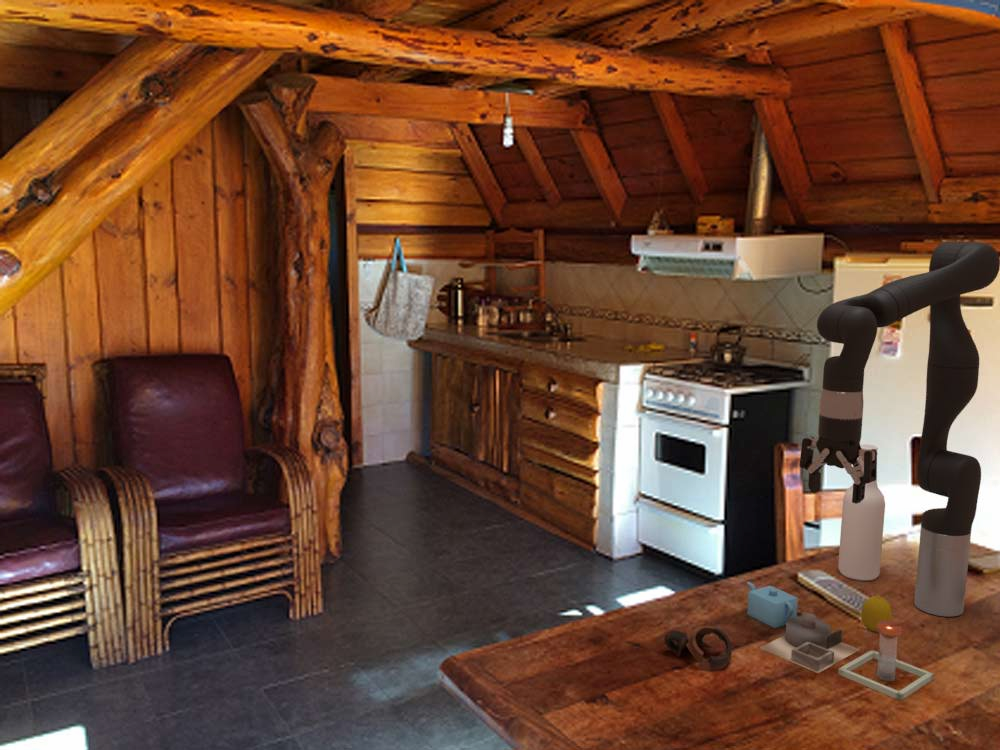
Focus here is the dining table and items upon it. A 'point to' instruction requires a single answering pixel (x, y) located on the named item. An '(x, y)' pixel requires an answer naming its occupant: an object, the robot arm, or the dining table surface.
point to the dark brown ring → (695, 640)
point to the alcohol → (862, 531)
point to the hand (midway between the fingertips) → (835, 497)
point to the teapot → (771, 605)
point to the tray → (898, 695)
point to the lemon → (875, 612)
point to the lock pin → (887, 649)
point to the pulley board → (810, 644)
